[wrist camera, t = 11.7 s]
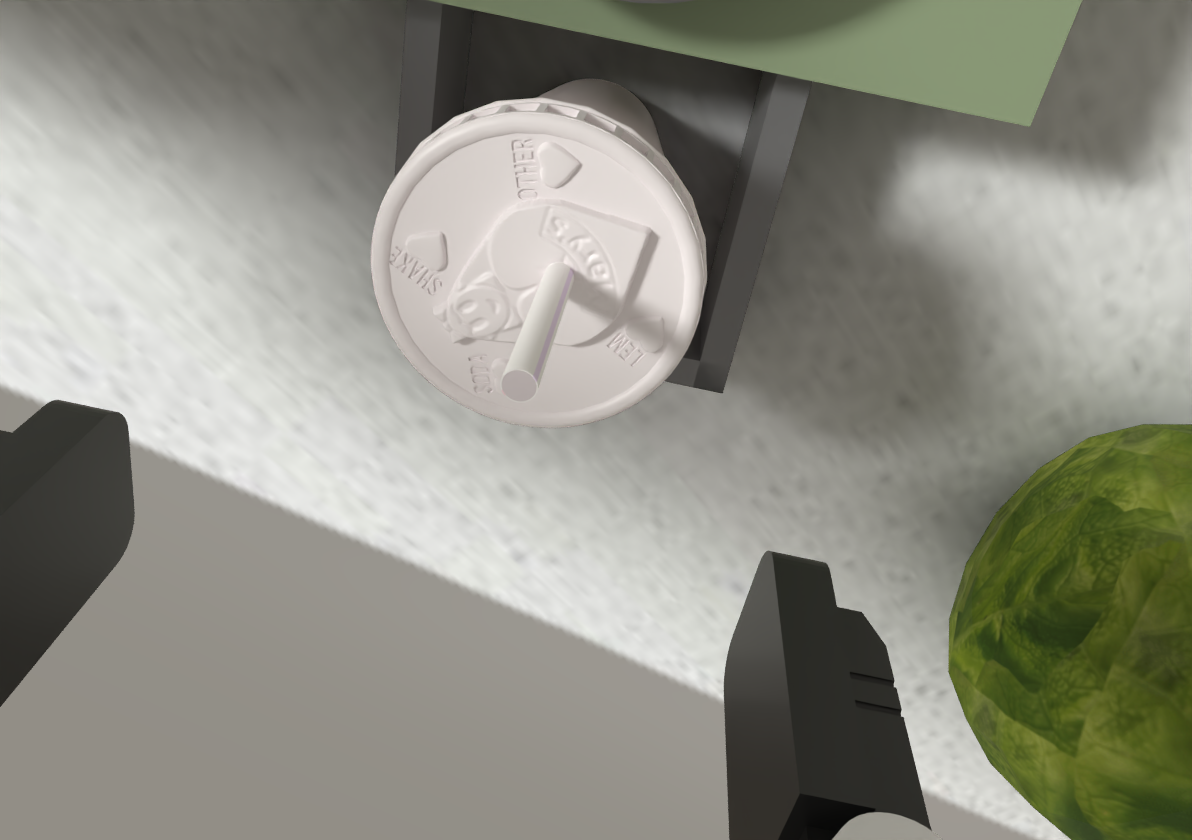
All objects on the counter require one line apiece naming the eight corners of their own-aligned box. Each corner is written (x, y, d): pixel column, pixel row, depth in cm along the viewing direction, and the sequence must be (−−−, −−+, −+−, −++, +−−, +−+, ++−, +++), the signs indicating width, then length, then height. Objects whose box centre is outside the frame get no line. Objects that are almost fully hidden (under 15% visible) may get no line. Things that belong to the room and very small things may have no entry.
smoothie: (747, 202, 26) (775, 492, 14) (546, 294, 28) (424, 616, 16) (643, -26, 24) (572, 97, 12) (431, 95, 26) (184, 303, 14)
